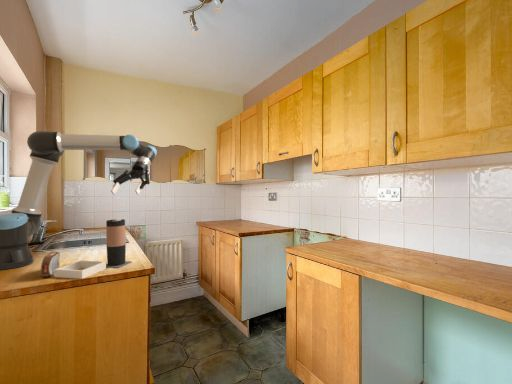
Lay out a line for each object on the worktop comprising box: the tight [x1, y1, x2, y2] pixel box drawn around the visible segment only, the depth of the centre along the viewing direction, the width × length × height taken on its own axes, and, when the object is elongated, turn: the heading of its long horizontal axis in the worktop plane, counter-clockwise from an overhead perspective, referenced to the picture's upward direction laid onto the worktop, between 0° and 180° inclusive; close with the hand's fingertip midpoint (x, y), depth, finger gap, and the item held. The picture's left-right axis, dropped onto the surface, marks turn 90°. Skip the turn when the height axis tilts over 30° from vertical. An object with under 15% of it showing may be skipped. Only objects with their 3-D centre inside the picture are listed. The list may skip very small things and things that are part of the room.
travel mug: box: [105, 218, 127, 266], centre depth 117 cm, size 8×8×20 cm
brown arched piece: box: [40, 251, 61, 278], centre depth 106 cm, size 15×3×8 cm, turn 24°
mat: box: [106, 260, 132, 269], centre depth 118 cm, size 9×9×1 cm
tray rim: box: [53, 260, 107, 280], centre depth 107 cm, size 13×13×3 cm
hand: (124, 192), depth 132 cm, fingers open, 13 cm apart
